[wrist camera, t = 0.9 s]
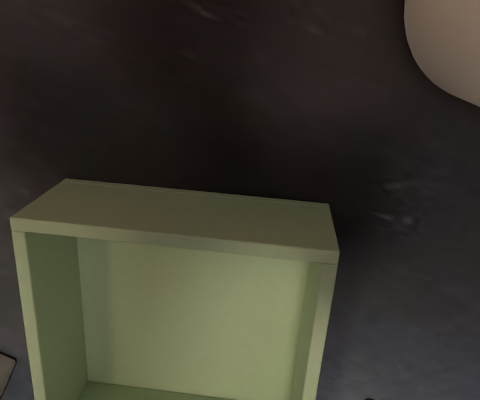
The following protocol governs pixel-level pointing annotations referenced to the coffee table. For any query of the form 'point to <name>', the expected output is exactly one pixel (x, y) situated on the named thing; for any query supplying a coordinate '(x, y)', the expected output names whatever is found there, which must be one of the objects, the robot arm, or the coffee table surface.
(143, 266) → the open storage box
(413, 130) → the coffee table surface
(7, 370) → the small box
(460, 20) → the mug
